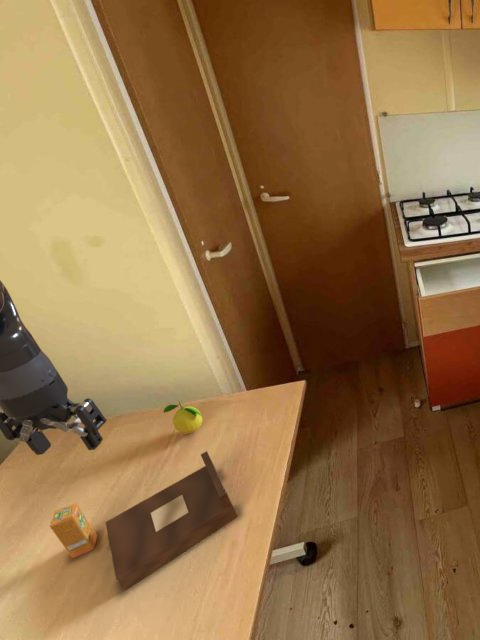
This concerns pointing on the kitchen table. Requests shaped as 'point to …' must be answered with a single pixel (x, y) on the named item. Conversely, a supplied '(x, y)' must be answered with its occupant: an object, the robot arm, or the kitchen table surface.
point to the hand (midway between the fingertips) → (70, 448)
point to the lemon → (185, 418)
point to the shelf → (168, 524)
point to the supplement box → (73, 530)
